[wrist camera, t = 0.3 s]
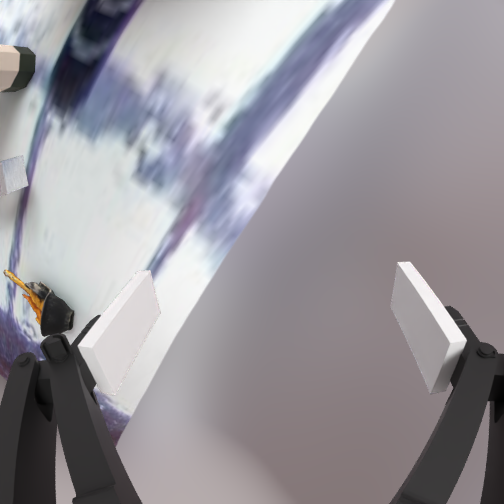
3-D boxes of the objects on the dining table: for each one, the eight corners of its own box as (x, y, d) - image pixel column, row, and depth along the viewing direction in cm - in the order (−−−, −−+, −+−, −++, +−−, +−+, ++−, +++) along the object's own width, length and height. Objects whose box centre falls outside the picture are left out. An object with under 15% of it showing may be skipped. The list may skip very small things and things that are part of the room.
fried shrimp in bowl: (70, 349, 52) (-5, 327, 46) (80, 301, 59) (9, 282, 53) (66, 332, 46) (-18, 307, 39) (78, 279, 53) (0, 258, 46)
